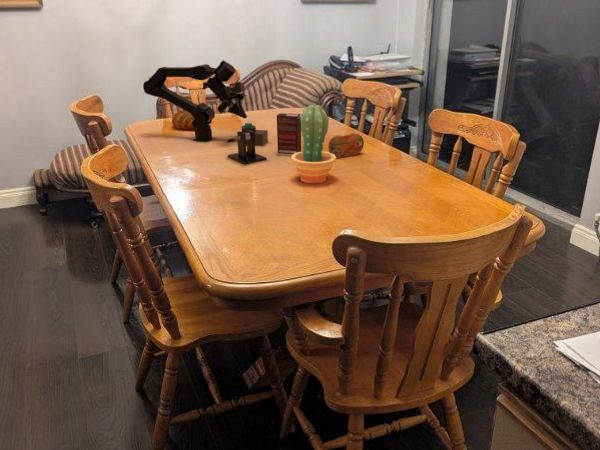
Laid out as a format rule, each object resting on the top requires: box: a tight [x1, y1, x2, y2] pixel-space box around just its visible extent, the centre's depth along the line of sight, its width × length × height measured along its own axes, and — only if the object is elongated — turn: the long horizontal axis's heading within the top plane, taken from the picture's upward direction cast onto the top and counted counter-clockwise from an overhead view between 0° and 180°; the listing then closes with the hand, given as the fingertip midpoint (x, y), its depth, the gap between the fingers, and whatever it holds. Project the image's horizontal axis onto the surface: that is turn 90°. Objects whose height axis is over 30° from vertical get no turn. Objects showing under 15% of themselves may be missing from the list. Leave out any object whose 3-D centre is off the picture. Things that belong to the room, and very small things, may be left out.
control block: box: [240, 124, 269, 147], centre depth 222 cm, size 10×7×7 cm
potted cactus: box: [290, 104, 337, 184], centre depth 176 cm, size 15×15×25 cm
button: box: [244, 122, 253, 128], centre depth 221 cm, size 3×3×2 cm
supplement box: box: [276, 112, 302, 157], centre depth 205 cm, size 9×5×16 cm, turn 71°
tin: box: [327, 132, 365, 159], centre depth 205 cm, size 15×3×8 cm, turn 117°
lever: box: [226, 132, 251, 143], centre depth 202 cm, size 11×6×2 cm, turn 39°
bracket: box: [227, 130, 268, 166], centre depth 200 cm, size 12×10×11 cm
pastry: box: [171, 109, 195, 130], centre depth 249 cm, size 21×13×8 cm, turn 33°
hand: (246, 117), depth 220 cm, fingers closed
